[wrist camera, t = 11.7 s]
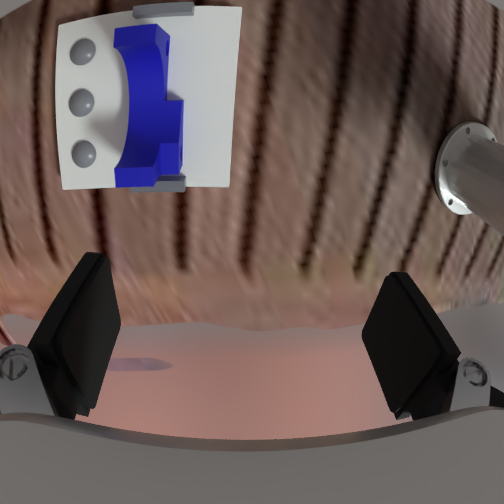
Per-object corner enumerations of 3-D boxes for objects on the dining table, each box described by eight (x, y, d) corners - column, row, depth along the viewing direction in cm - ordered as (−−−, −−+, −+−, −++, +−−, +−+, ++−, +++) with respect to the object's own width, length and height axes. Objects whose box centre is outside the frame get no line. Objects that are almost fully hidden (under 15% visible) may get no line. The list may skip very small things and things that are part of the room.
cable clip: (182, 165, 26) (173, 186, 21) (135, 165, 26) (115, 187, 21) (187, 35, 20) (178, 22, 15) (136, 38, 20) (114, 28, 15)
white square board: (240, 12, 21) (243, 3, 18) (228, 180, 30) (229, 192, 27) (67, 27, 19) (51, 23, 16) (70, 183, 28) (56, 195, 25)
